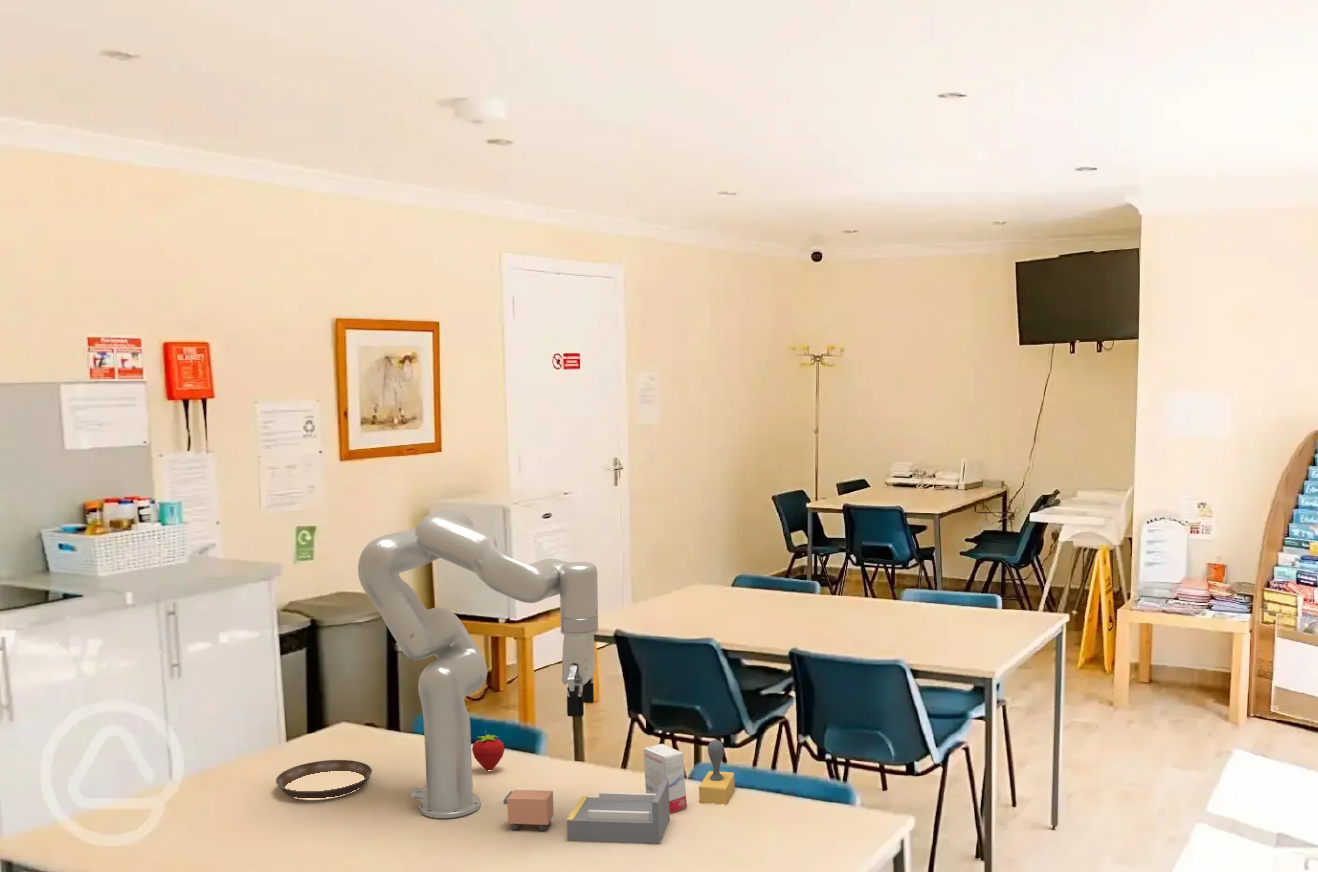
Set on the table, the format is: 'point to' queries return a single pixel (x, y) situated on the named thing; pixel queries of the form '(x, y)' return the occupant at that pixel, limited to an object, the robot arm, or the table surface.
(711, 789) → the rubber stamp
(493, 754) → the strawberry
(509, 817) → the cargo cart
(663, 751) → the ink box
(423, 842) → the table surface
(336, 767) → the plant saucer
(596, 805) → the loading dock
